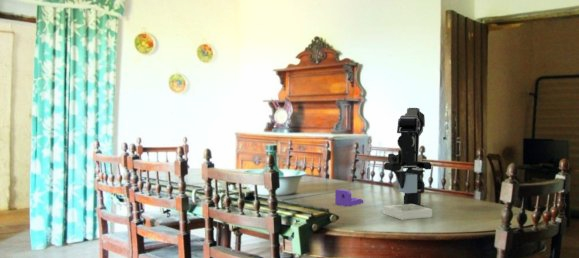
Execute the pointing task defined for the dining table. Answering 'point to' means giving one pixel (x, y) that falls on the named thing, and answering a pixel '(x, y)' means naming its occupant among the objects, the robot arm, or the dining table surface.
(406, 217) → the well
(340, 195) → the bracket
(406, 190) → the block
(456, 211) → the dining table surface
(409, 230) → the dining table surface
